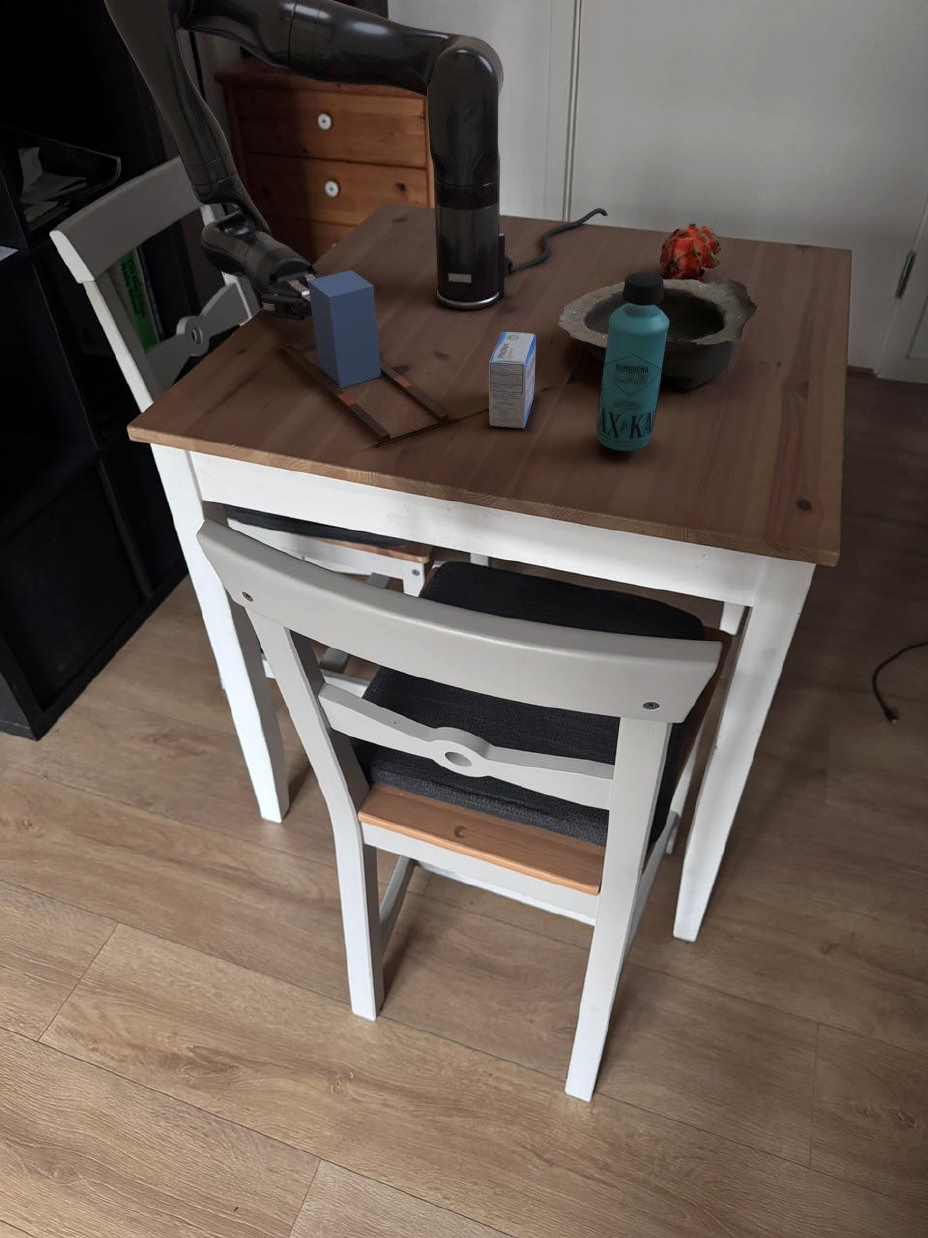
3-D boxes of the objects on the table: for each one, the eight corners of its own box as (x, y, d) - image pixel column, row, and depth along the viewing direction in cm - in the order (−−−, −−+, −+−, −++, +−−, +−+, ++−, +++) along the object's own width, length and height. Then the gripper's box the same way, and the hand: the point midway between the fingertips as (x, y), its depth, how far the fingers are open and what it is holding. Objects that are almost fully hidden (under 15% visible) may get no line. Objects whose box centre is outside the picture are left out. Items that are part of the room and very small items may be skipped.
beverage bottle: (589, 435, 106) (604, 265, 93) (644, 432, 106) (668, 262, 93) (600, 465, 101) (618, 291, 88) (657, 461, 102) (684, 288, 88)
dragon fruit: (709, 276, 145) (669, 310, 139) (674, 236, 144) (632, 269, 139) (743, 242, 137) (702, 277, 132) (706, 199, 137) (663, 233, 131)
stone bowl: (775, 398, 111) (786, 328, 105) (575, 422, 111) (574, 353, 105) (719, 312, 129) (726, 247, 123) (547, 332, 129) (545, 269, 123)
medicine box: (524, 430, 107) (527, 362, 101) (488, 426, 108) (488, 359, 102) (534, 398, 113) (537, 332, 107) (499, 395, 114) (500, 329, 108)
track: (347, 338, 126) (346, 328, 125) (451, 422, 109) (451, 412, 108) (282, 356, 123) (280, 346, 122) (379, 447, 105) (378, 436, 104)
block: (360, 358, 120) (351, 269, 112) (381, 376, 116) (373, 285, 108) (319, 370, 118) (307, 280, 110) (339, 389, 114) (328, 296, 106)
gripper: (230, 257, 121) (282, 301, 110) (319, 237, 126) (377, 277, 115) (240, 311, 126) (291, 358, 115) (325, 290, 131) (382, 333, 120)
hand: (334, 318), depth 115 cm, fingers closed
